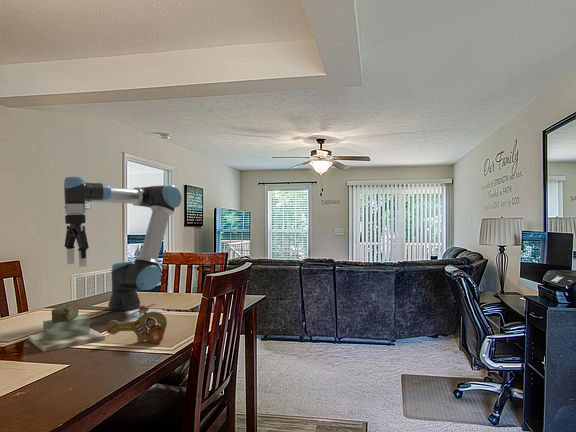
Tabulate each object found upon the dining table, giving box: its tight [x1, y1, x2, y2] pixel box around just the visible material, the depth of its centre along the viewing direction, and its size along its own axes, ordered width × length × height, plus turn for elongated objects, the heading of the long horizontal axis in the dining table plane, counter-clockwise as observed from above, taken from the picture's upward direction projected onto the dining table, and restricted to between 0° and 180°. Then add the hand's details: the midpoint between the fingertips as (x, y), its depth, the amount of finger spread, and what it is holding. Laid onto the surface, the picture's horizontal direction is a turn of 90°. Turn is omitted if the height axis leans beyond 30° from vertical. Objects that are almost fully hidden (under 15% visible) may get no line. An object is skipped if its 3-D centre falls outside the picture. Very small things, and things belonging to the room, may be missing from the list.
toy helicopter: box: [105, 303, 168, 345], centre depth 149 cm, size 8×21×14 cm, turn 102°
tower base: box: [28, 314, 106, 353], centre depth 152 cm, size 20×20×8 cm
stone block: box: [51, 303, 80, 322], centre depth 152 cm, size 6×12×5 cm, turn 8°
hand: (76, 265), depth 172 cm, fingers open, 13 cm apart
